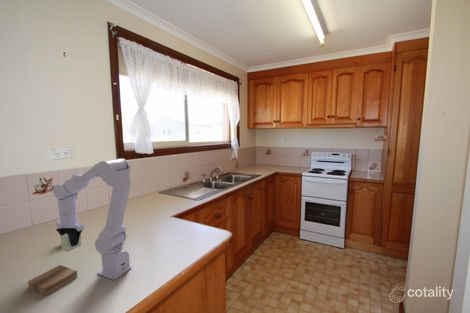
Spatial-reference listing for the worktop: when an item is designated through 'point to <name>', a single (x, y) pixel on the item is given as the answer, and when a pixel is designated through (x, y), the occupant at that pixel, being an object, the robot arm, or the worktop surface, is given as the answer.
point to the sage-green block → (68, 243)
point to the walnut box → (52, 280)
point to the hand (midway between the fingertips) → (71, 244)
